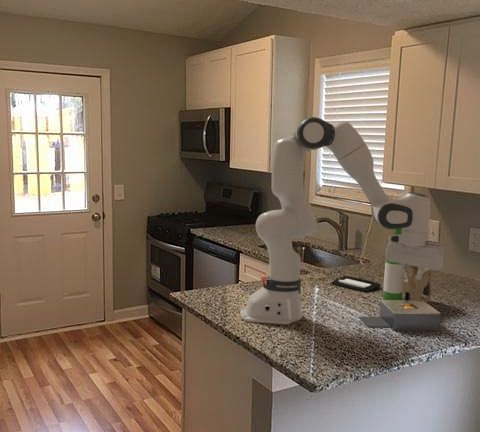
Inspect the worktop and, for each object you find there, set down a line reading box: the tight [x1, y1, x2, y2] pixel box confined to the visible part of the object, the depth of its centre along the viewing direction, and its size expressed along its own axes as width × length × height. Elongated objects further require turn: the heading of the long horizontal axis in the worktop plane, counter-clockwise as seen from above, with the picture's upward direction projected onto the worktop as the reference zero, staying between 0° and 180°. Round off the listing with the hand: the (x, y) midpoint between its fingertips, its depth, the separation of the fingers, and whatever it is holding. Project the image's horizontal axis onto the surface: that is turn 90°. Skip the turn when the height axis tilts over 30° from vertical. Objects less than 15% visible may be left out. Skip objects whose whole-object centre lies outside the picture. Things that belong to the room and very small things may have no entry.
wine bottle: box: [382, 228, 405, 300], centre depth 212 cm, size 8×8×30 cm
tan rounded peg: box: [407, 265, 419, 289], centre depth 183 cm, size 3×3×8 cm
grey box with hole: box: [378, 299, 441, 332], centre depth 185 cm, size 16×14×6 cm
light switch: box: [330, 275, 381, 294], centre depth 233 cm, size 20×3×14 cm
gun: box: [402, 268, 433, 303], centre depth 204 cm, size 24×3×15 cm, turn 141°
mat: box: [358, 315, 390, 328], centre depth 185 cm, size 8×10×1 cm
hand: (412, 278), depth 183 cm, fingers closed on tan rounded peg, 3 cm apart
